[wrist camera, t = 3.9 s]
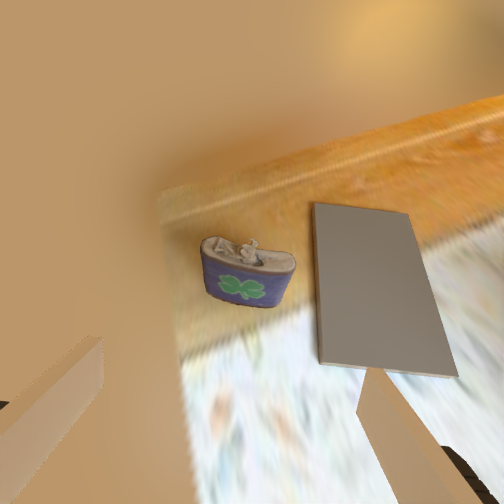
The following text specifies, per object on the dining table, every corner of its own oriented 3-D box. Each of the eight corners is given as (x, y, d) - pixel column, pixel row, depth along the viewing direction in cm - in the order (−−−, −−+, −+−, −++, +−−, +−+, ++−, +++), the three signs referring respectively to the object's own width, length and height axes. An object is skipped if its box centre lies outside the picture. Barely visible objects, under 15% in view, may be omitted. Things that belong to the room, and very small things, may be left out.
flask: (281, 291, 32) (303, 242, 22) (278, 314, 30) (299, 271, 21) (208, 275, 32) (200, 220, 23) (201, 297, 30) (190, 247, 21)
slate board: (402, 220, 39) (407, 213, 38) (448, 378, 28) (458, 376, 26) (311, 209, 39) (314, 202, 38) (319, 364, 27) (324, 361, 26)
